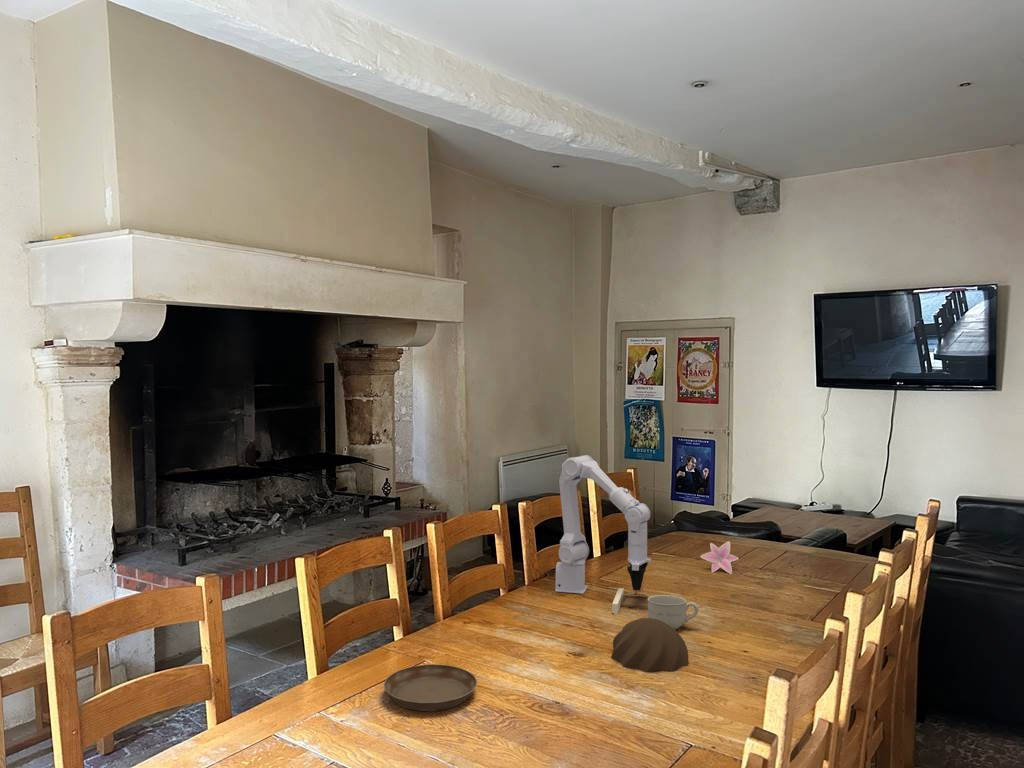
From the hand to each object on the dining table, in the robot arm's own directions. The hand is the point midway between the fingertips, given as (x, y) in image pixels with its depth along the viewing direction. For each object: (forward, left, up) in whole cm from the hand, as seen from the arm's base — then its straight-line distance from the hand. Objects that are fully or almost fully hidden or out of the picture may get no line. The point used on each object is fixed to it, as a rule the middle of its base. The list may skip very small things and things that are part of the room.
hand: (637, 587), depth 230 cm
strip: (-6, -3, -5) cm, 8 cm away
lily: (+25, +46, -5) cm, 53 cm away
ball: (0, 0, +1) cm, 1 cm away
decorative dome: (+7, -41, -6) cm, 42 cm away
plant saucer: (-39, -76, -6) cm, 85 cm away
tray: (0, 0, -5) cm, 5 cm away
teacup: (+11, -18, -5) cm, 22 cm away
